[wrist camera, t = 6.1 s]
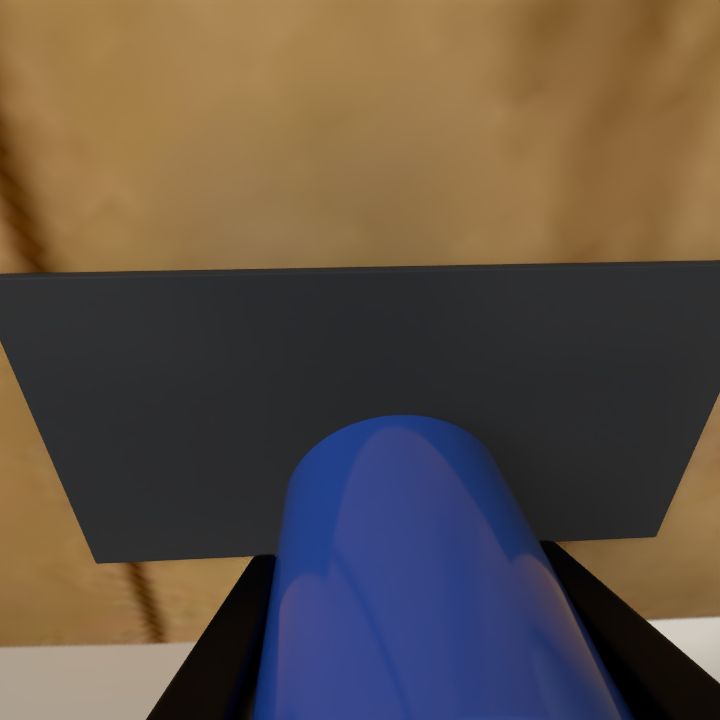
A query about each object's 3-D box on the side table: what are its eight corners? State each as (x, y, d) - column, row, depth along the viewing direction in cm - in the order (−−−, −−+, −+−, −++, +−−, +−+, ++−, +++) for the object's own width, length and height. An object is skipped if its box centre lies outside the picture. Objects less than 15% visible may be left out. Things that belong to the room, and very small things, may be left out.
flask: (293, 581, 11) (207, 1433, 4) (274, 417, 8) (-80, 1868, 1) (487, 571, 11) (773, 1348, 4) (518, 408, 9) (1399, 1592, 1)
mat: (102, 551, 14) (95, 564, 14) (-12, 273, 10) (-28, 278, 10) (647, 526, 15) (656, 537, 15) (759, 259, 11) (778, 263, 10)
